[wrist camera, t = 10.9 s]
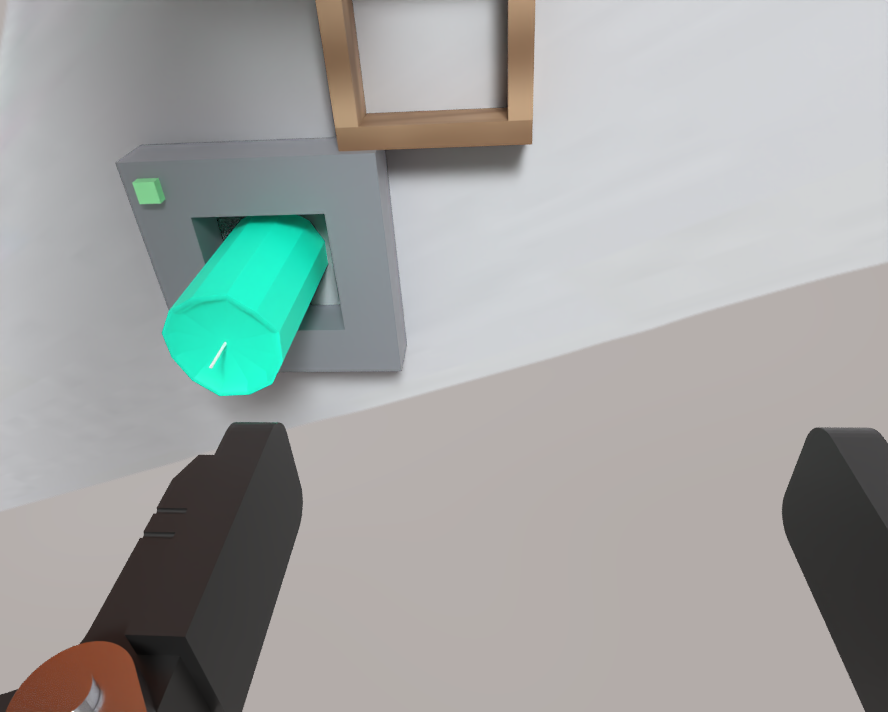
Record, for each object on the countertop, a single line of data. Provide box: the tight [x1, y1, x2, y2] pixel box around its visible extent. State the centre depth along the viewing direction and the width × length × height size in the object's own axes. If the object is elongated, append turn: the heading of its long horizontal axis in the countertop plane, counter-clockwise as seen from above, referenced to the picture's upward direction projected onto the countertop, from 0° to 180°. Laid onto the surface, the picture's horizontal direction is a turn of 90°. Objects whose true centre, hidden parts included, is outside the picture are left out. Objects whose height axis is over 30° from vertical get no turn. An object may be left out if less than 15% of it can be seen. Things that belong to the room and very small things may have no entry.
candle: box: [162, 215, 328, 396], centre depth 35 cm, size 6×6×12 cm
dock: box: [116, 137, 407, 372], centre depth 38 cm, size 14×14×4 cm
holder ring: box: [315, 0, 535, 151], centre depth 31 cm, size 10×10×2 cm
